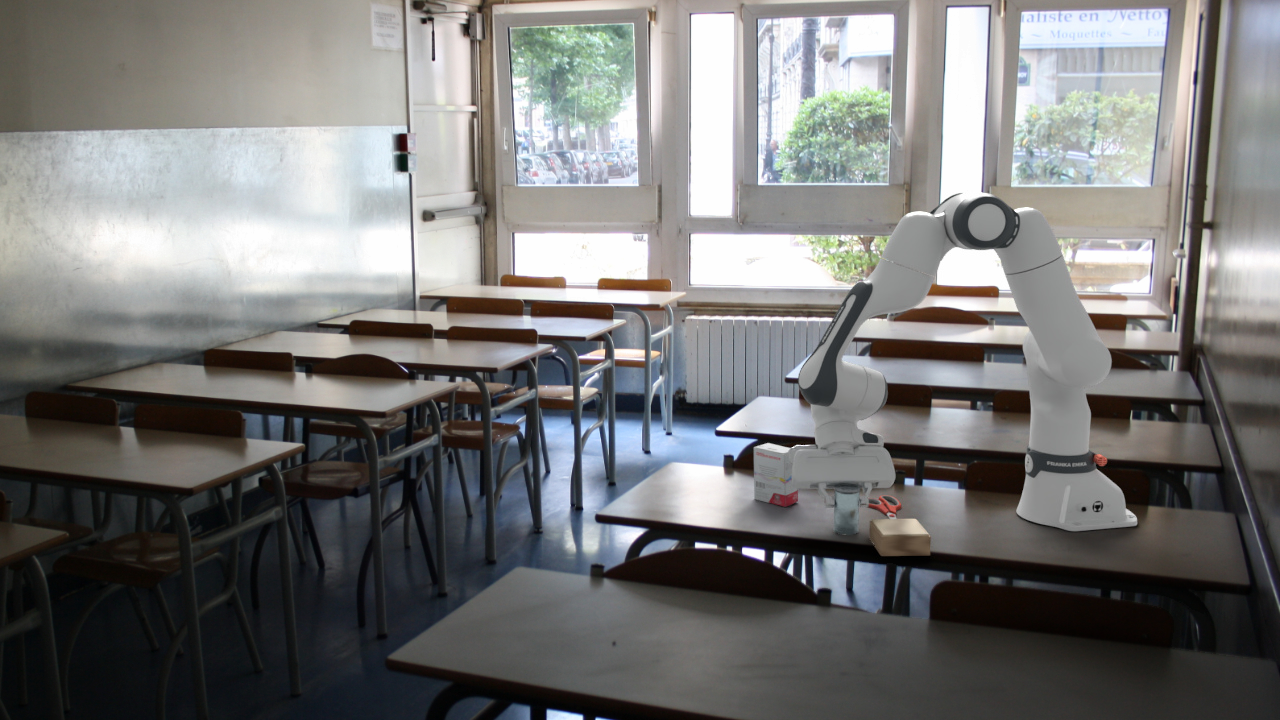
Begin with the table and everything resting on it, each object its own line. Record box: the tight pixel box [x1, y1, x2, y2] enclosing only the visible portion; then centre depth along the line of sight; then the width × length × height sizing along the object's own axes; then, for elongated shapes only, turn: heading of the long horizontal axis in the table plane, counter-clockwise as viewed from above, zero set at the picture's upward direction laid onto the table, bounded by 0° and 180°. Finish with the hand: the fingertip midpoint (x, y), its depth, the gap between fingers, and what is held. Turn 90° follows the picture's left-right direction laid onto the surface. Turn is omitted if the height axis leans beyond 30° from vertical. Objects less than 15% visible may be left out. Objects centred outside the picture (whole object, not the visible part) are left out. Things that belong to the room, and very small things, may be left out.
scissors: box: [867, 494, 902, 519], centre depth 205 cm, size 8×21×2 cm, turn 8°
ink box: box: [753, 442, 799, 508], centre depth 214 cm, size 9×5×12 cm, turn 44°
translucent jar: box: [832, 483, 861, 536], centre depth 196 cm, size 5×5×9 cm
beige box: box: [868, 518, 932, 557], centre depth 187 cm, size 9×9×4 cm
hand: (847, 506), depth 195 cm, fingers open, 5 cm apart
